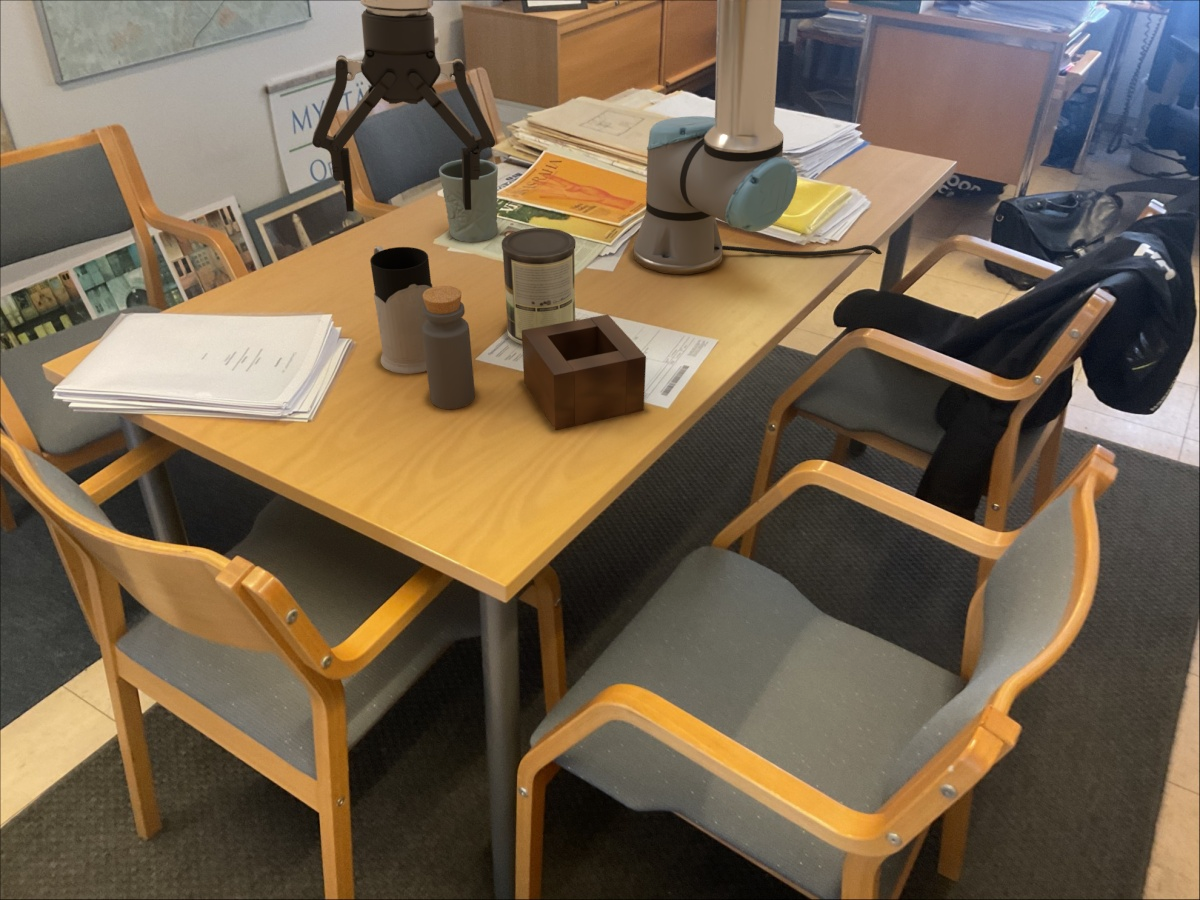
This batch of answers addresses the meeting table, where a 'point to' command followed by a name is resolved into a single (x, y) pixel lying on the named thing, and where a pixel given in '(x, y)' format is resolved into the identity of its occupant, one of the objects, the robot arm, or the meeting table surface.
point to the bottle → (447, 348)
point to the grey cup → (483, 202)
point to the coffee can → (538, 279)
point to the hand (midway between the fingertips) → (409, 207)
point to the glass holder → (401, 306)
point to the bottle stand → (583, 371)
